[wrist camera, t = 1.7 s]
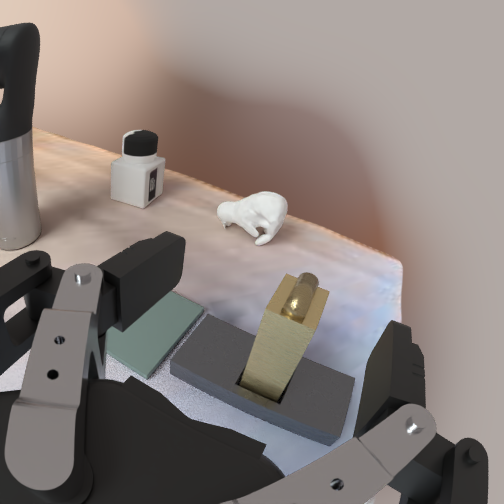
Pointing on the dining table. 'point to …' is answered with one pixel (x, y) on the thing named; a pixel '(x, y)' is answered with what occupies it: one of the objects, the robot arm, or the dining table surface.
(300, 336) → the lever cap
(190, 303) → the mat
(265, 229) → the white humped figurine
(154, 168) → the container
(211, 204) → the dining table surface
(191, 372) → the plane body
